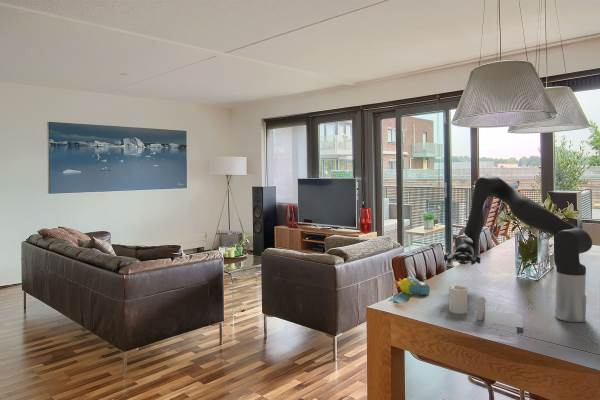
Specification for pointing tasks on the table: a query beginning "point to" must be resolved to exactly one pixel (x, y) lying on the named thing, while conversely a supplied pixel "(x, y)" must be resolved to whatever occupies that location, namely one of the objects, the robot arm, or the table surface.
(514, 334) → the table surface
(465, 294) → the keyed collar
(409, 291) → the blue and yellow toy
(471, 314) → the shaft board
